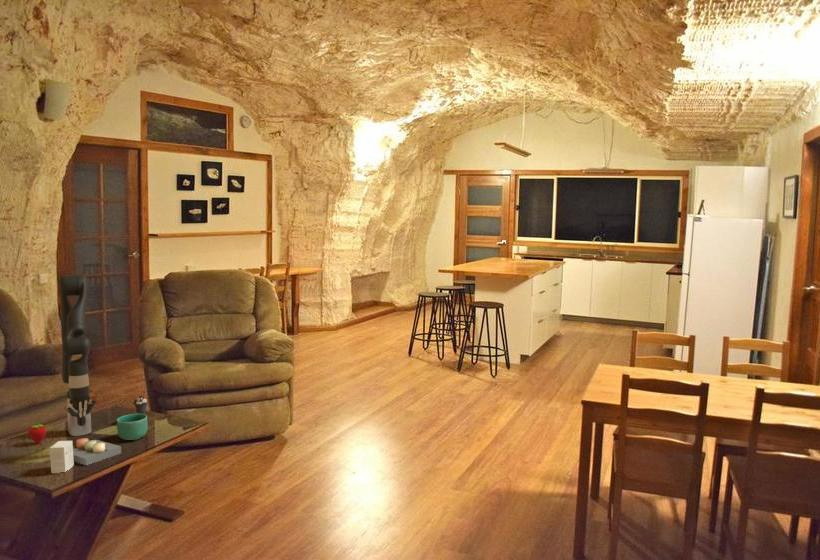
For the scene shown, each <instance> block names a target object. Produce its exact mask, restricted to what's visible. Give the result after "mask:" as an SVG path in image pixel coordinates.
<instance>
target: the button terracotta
mask: <svg viewBox="0 0 820 560" xmlns="http://www.w3.org/2000/svg"><path fill="white" fill-rule="evenodd" d="M87 441H89V438H88V437H87V438H86V437H82V438H77V439H76V441H75V442H76V445H75V446H77V448H78V449H83V448H85V446H84V443H85V442H87Z"/></svg>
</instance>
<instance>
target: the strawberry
mask: <svg viewBox="0 0 820 560" xmlns="http://www.w3.org/2000/svg"><path fill="white" fill-rule="evenodd" d="M30 427H31V428H29V429H28V430H27V431H28V432H27V434H28V436H29V438H30V440H32V441H33V442H34V443H35V444H36V445H37V444H38V445H39V444H41V443H42V441H43V440H44V439H45V437H46V436H47V432H48V430H47V428H46V427H45V425H43V424H42V423H39V424H37V425H32V426H30Z"/></svg>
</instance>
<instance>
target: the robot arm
mask: <svg viewBox="0 0 820 560" xmlns="http://www.w3.org/2000/svg"><path fill="white" fill-rule="evenodd" d="M58 283H59V285H58V288H59V298H60V307H61V308H60V310H61V314H60V315H61V317H60V320H61V321H60V324H61V325H60V327H61V329H60V330H61V332H60V333H61V335H60V336H61V345H62V346H61V350H62V352H61V354H62V356H61V378H62V379H61V380H62V382H63V383H64V384H65V385H67V384H68V391H67V393H66V399H67V400H66V401H67V406H65V407H64V410H65V411H66V412H67V416H66V417H67V418H66V419H67V430H68V434H69V436H73V437H77V436H79V437H80V436H84V435H88V434H90V433H92V418H91V417H92V416H91V415H92V414H91V412H92V409H93V408H94V406H95V404H96V403H97V401H96V400H93V399H91V396H90V393H91V392H90V379H89V378H90V374H89V372H90V370H89V364H88V360H89V359H88V358H89V354H90V350H91V346H92V345H91V341H90V339H89V338H88V337H86V336H85V333H86V309H87V300H88V289H89V287H88V278H87V276H86V275H85V274H64V275H61V276H60V277H59V281H58ZM71 296H75V297H76V296H78V300H77V301H76V303H75V304H74V305H72V303H71V301H70V298H69V297H71ZM78 355H79V356H80V355H81V356H80V358H77V359H74V360H72V359H73V356H78Z"/></svg>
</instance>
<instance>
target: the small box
mask: <svg viewBox="0 0 820 560" xmlns="http://www.w3.org/2000/svg"><path fill="white" fill-rule="evenodd" d="M73 447H74V445H73V440H58V441H57V442H55V443H54V444H53V445H52V446H50V447H49V458H50V471H51V472H50V473H51V474H52V473H53V474H61V473H60V472H66V471H67V470H68V471H69V470H70V469H72V468H73V467H74V466H75V462H74V459H73ZM68 471H67V472H68ZM67 472H66V473H67Z"/></svg>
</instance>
